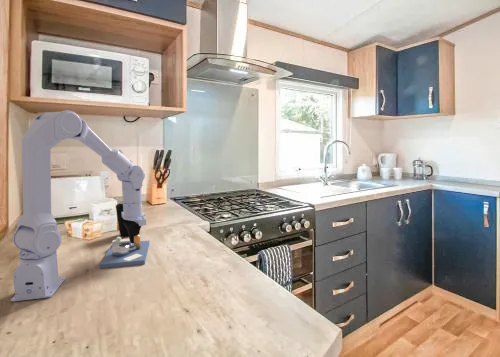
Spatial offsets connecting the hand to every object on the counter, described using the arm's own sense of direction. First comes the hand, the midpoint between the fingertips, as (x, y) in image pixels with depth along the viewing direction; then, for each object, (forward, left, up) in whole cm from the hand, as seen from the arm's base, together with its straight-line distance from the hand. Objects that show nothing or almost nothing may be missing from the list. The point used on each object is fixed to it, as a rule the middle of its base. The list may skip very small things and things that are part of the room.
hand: (134, 242), depth 94 cm
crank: (-3, +2, -2) cm, 4 cm away
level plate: (-2, +2, -3) cm, 4 cm away
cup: (+20, +5, -3) cm, 20 cm away
